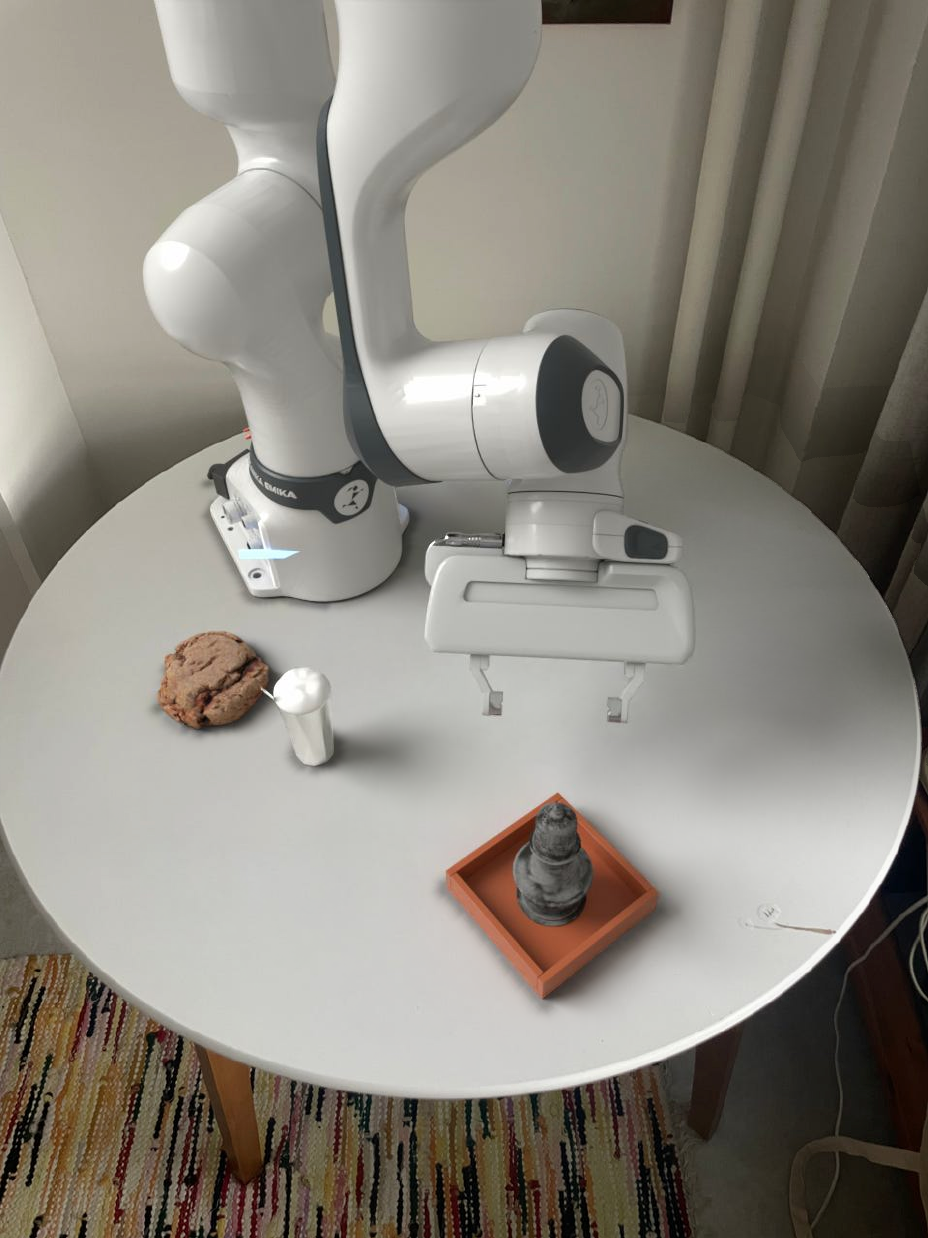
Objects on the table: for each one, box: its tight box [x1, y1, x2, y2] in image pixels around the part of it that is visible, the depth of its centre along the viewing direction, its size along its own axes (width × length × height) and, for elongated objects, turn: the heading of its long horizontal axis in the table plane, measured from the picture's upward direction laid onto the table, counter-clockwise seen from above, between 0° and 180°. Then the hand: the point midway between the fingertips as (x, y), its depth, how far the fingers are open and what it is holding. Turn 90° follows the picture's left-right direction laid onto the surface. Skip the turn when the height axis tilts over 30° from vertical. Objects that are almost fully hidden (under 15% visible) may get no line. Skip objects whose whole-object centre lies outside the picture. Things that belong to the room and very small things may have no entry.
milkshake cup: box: [260, 667, 335, 767], centre depth 84 cm, size 4×5×10 cm
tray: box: [445, 792, 660, 1000], centre depth 77 cm, size 11×11×2 cm
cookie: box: [157, 630, 270, 730], centre depth 92 cm, size 10×11×3 cm
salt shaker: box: [513, 802, 593, 927], centre depth 73 cm, size 6×6×12 cm
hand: (554, 718), depth 78 cm, fingers open, 8 cm apart
